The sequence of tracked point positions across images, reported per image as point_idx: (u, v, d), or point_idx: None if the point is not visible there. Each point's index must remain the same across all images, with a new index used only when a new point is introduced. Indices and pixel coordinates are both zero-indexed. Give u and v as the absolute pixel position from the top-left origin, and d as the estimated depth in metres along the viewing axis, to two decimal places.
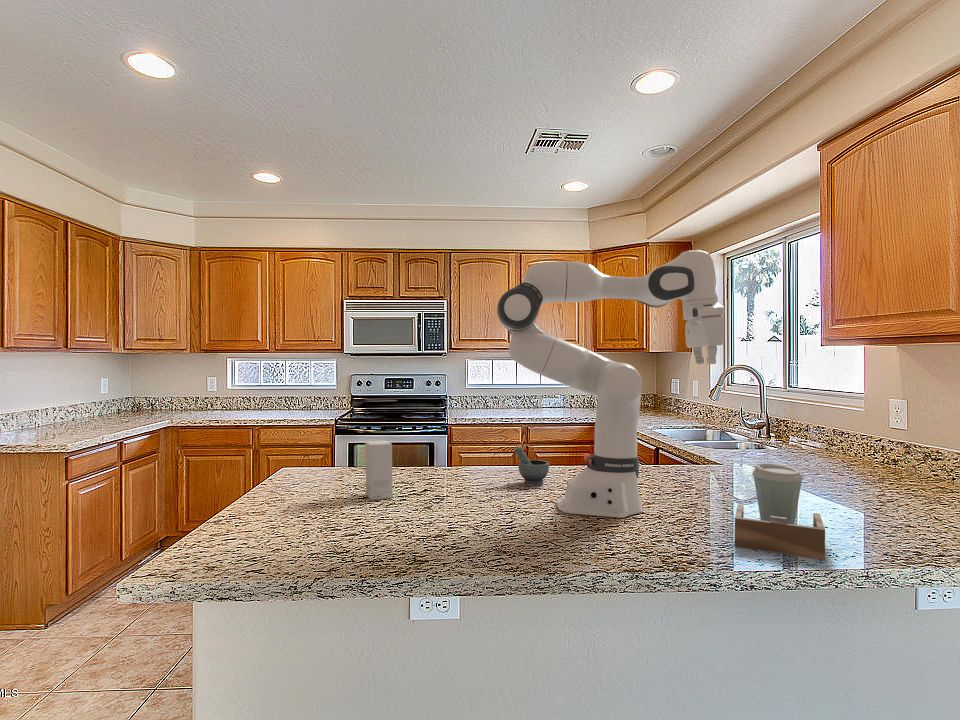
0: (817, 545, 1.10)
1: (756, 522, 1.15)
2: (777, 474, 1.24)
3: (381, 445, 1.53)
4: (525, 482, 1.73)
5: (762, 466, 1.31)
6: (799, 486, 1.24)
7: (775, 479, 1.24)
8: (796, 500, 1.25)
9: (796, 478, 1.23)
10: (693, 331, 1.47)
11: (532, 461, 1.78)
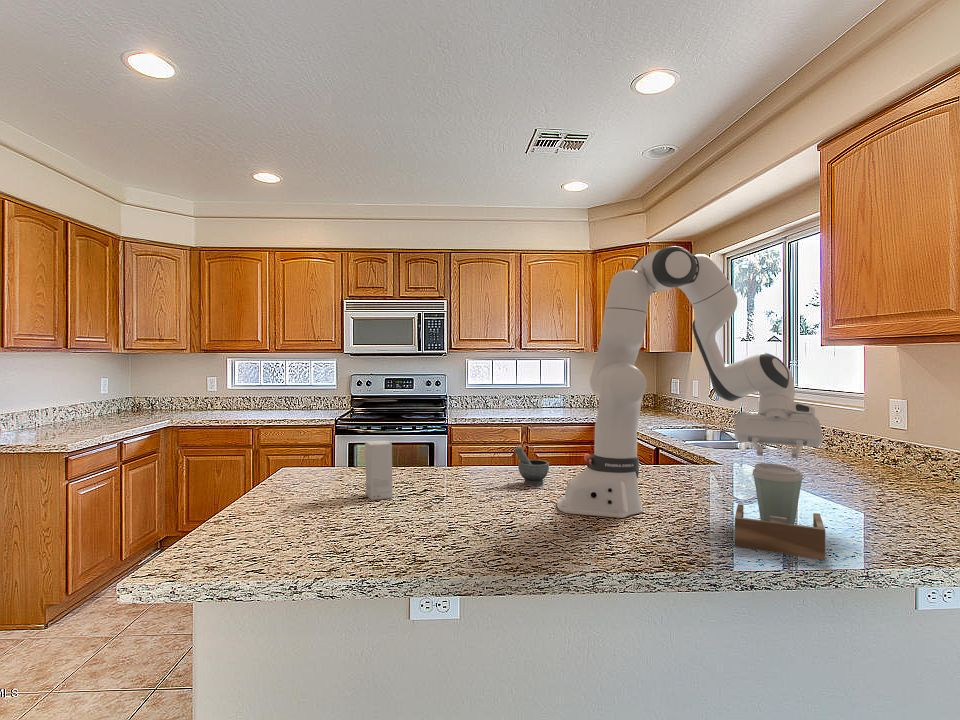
0: (817, 545, 1.10)
1: (756, 522, 1.15)
2: (777, 474, 1.24)
3: (381, 445, 1.53)
4: (525, 482, 1.73)
5: (762, 466, 1.31)
6: (799, 486, 1.24)
7: (775, 479, 1.24)
8: (796, 500, 1.25)
9: (796, 478, 1.23)
10: (765, 423, 1.45)
11: (532, 461, 1.78)
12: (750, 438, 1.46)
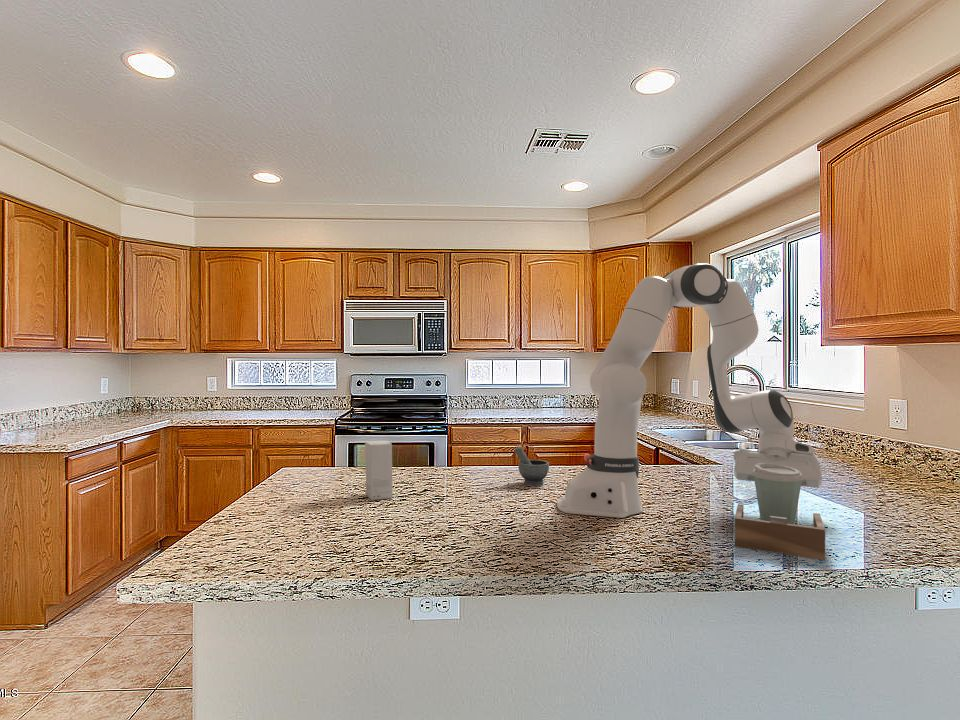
0: (817, 545, 1.10)
1: (756, 522, 1.15)
2: (777, 474, 1.24)
3: (381, 445, 1.53)
4: (525, 482, 1.73)
5: (762, 466, 1.31)
6: (799, 486, 1.24)
7: (775, 479, 1.24)
8: (796, 500, 1.25)
9: (796, 478, 1.23)
10: (764, 462, 1.45)
11: (532, 461, 1.78)
12: (749, 476, 1.46)
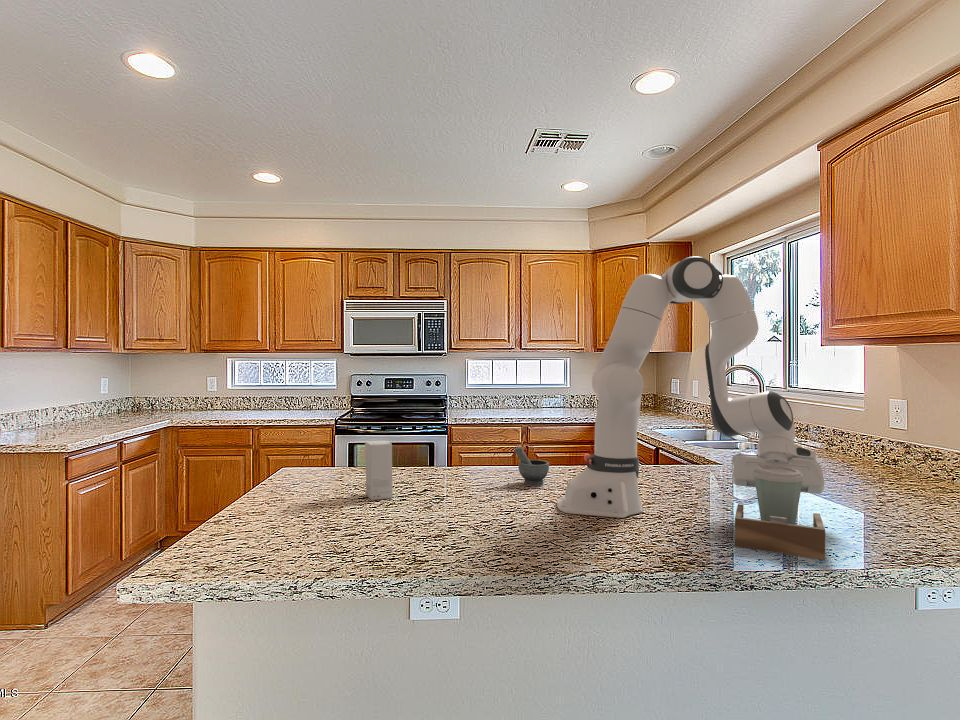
0: (817, 545, 1.10)
1: (756, 522, 1.15)
2: (778, 475, 1.23)
3: (381, 445, 1.53)
4: (525, 482, 1.73)
5: (762, 466, 1.31)
6: (800, 487, 1.24)
7: (776, 479, 1.23)
8: (797, 501, 1.24)
9: (797, 478, 1.23)
10: None
11: (532, 461, 1.78)
12: (748, 482, 1.39)
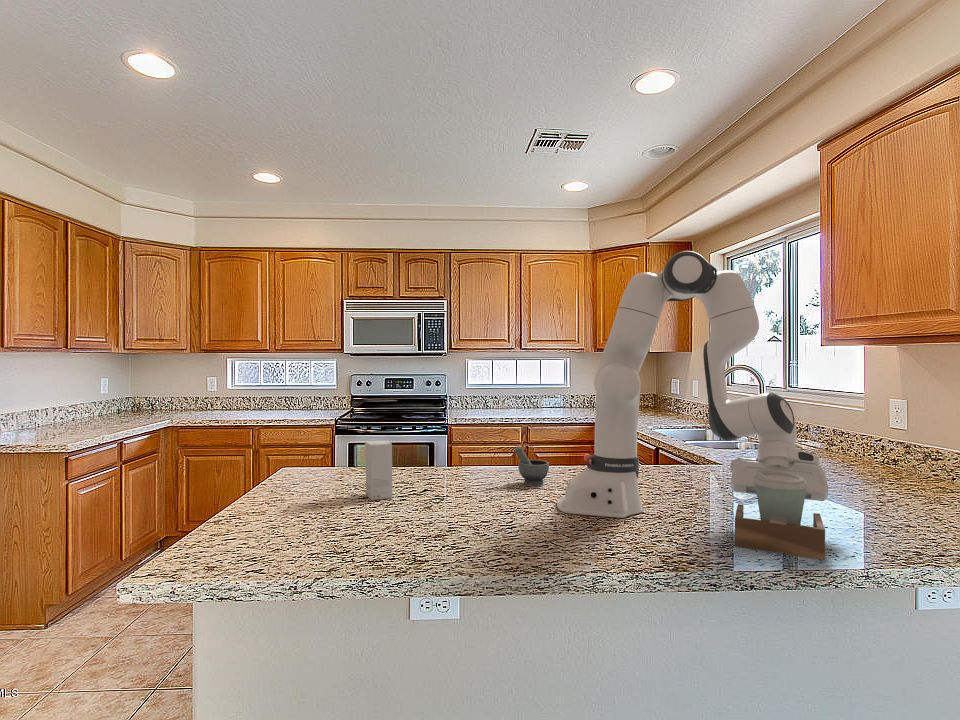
0: (817, 545, 1.10)
1: (756, 522, 1.15)
2: (781, 482, 1.16)
3: (381, 445, 1.53)
4: (525, 482, 1.73)
5: (763, 473, 1.23)
6: (804, 494, 1.17)
7: (780, 487, 1.16)
8: (801, 509, 1.17)
9: (801, 486, 1.16)
10: None
11: (532, 461, 1.78)
12: (748, 488, 1.32)
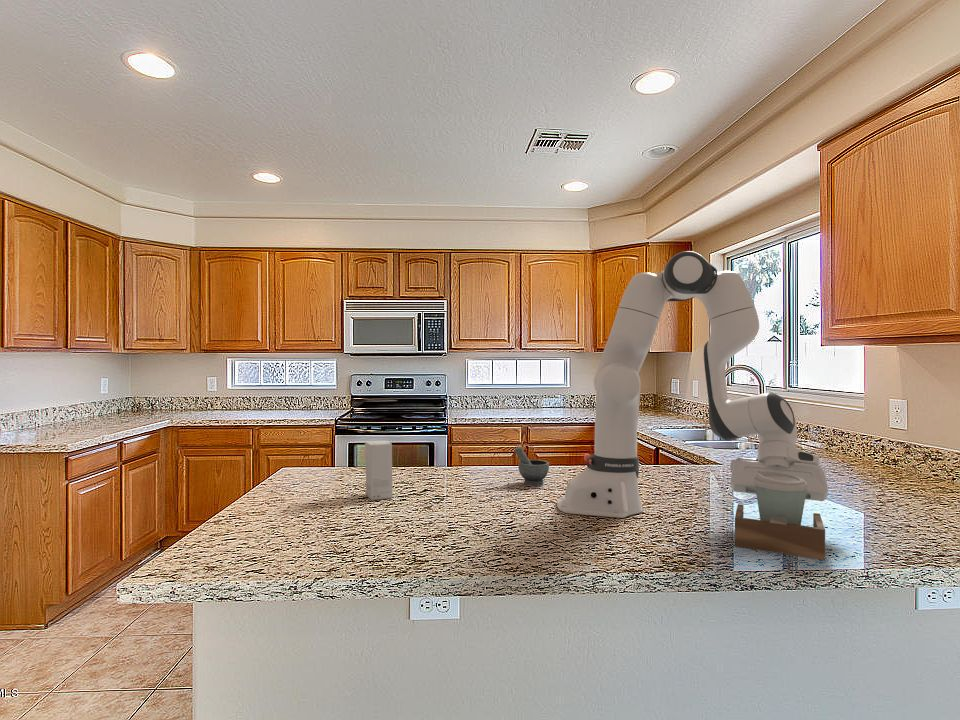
0: (817, 545, 1.10)
1: (756, 522, 1.15)
2: (781, 483, 1.15)
3: (381, 445, 1.53)
4: (525, 482, 1.73)
5: (763, 474, 1.22)
6: (804, 496, 1.16)
7: (780, 488, 1.15)
8: (801, 511, 1.16)
9: (802, 487, 1.14)
10: None
11: (532, 461, 1.78)
12: (748, 488, 1.32)
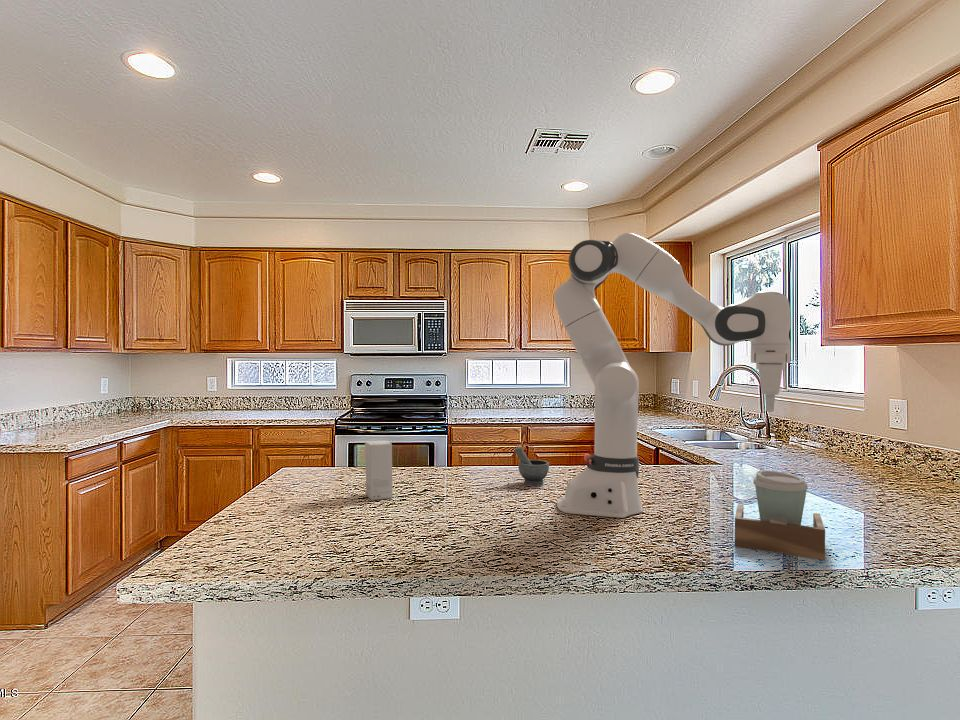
0: (817, 545, 1.10)
1: (756, 522, 1.15)
2: (781, 483, 1.15)
3: (381, 445, 1.53)
4: (525, 482, 1.73)
5: (763, 474, 1.22)
6: (804, 496, 1.16)
7: (780, 488, 1.15)
8: (801, 511, 1.16)
9: (802, 487, 1.14)
10: None
11: (532, 461, 1.78)
12: None
